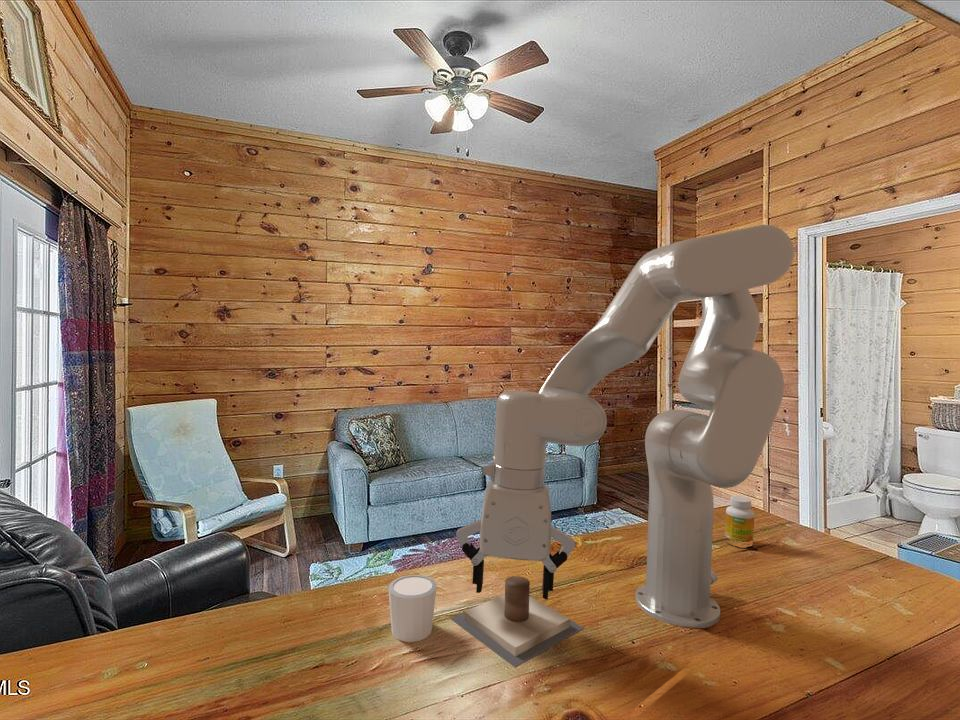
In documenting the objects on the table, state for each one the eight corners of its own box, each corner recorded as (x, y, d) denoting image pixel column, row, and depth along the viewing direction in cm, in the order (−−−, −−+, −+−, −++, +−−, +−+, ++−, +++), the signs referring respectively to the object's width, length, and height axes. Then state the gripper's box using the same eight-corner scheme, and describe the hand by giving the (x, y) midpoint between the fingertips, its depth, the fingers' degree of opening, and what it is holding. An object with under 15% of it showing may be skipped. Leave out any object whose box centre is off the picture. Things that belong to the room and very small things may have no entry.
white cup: (427, 651, 67) (428, 600, 67) (379, 644, 68) (380, 594, 68) (441, 623, 74) (442, 577, 73) (397, 617, 75) (398, 571, 75)
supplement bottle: (729, 547, 103) (731, 501, 103) (721, 537, 109) (723, 493, 108) (757, 550, 102) (759, 503, 102) (747, 539, 108) (749, 495, 107)
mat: (517, 592, 83) (517, 589, 83) (584, 631, 72) (584, 628, 72) (449, 621, 74) (449, 618, 74) (514, 670, 63) (515, 666, 63)
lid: (517, 596, 81) (518, 558, 81) (569, 627, 72) (570, 585, 72) (464, 619, 74) (464, 578, 74) (515, 656, 65) (516, 610, 65)
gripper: (456, 478, 69) (449, 599, 70) (581, 488, 68) (574, 611, 68) (462, 465, 77) (457, 574, 77) (575, 474, 75) (569, 585, 76)
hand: (512, 591), depth 73 cm, fingers open, 9 cm apart
